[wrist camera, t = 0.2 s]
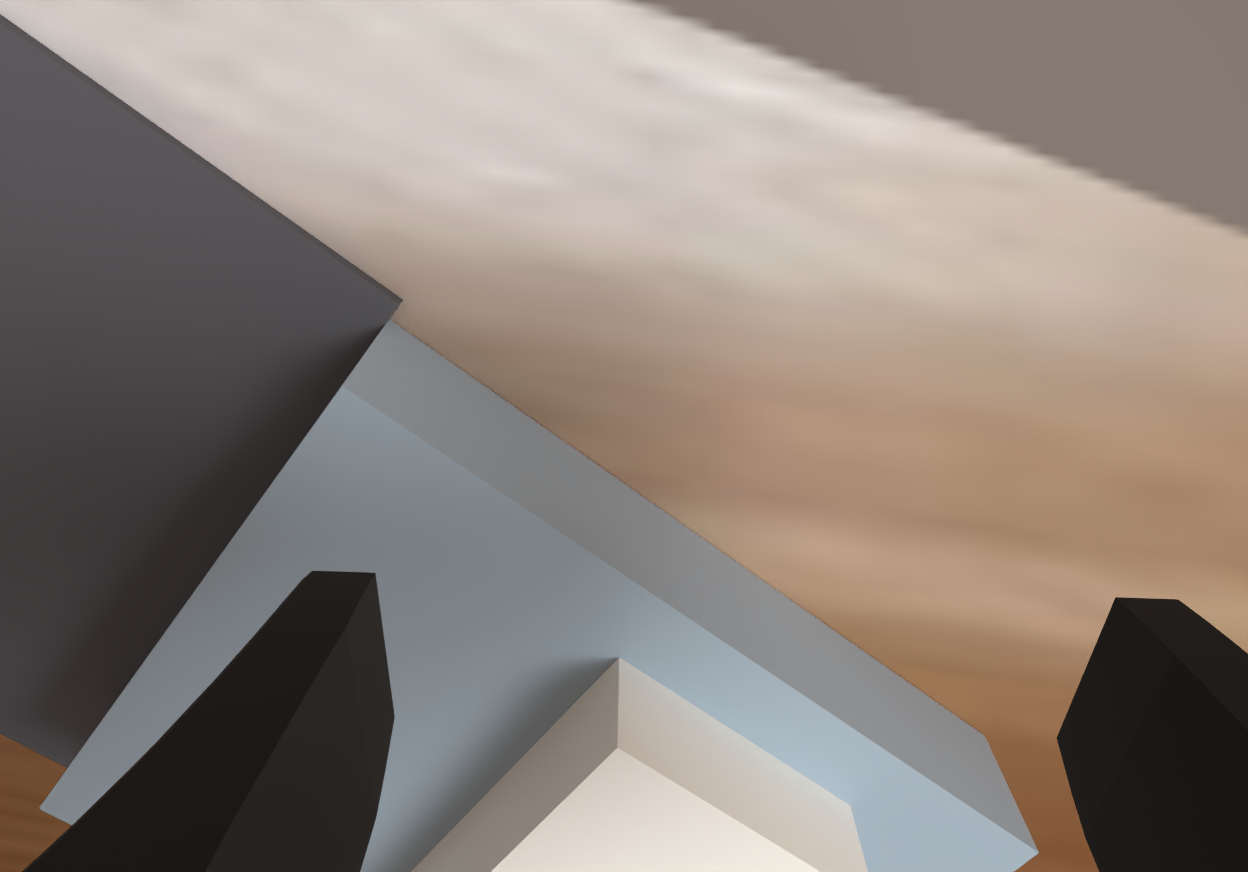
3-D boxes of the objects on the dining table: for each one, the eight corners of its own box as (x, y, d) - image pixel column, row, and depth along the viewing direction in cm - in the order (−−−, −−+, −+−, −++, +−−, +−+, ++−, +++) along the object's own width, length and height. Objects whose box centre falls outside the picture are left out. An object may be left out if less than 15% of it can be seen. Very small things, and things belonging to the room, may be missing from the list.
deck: (670, 993, 28) (675, 1124, 25) (118, 696, 23) (38, 808, 20) (984, 736, 24) (1038, 852, 21) (389, 319, 19) (341, 385, 16)
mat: (73, 759, 24) (67, 767, 24) (-347, 542, 22) (-359, 549, 21) (402, 300, 19) (399, 304, 19) (-94, -53, 17) (-106, -53, 16)
